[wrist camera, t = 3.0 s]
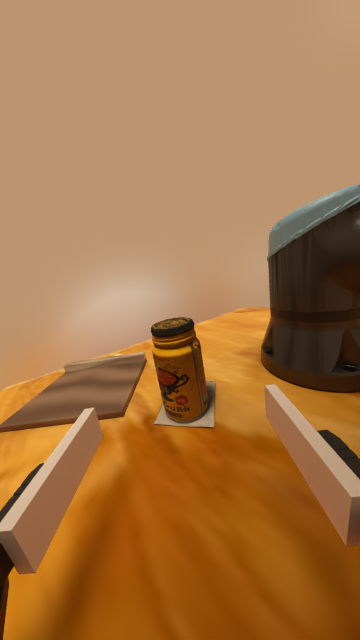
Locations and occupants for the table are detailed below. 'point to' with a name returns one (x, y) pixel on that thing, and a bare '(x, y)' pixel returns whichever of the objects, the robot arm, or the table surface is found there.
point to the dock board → (82, 393)
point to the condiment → (182, 375)
